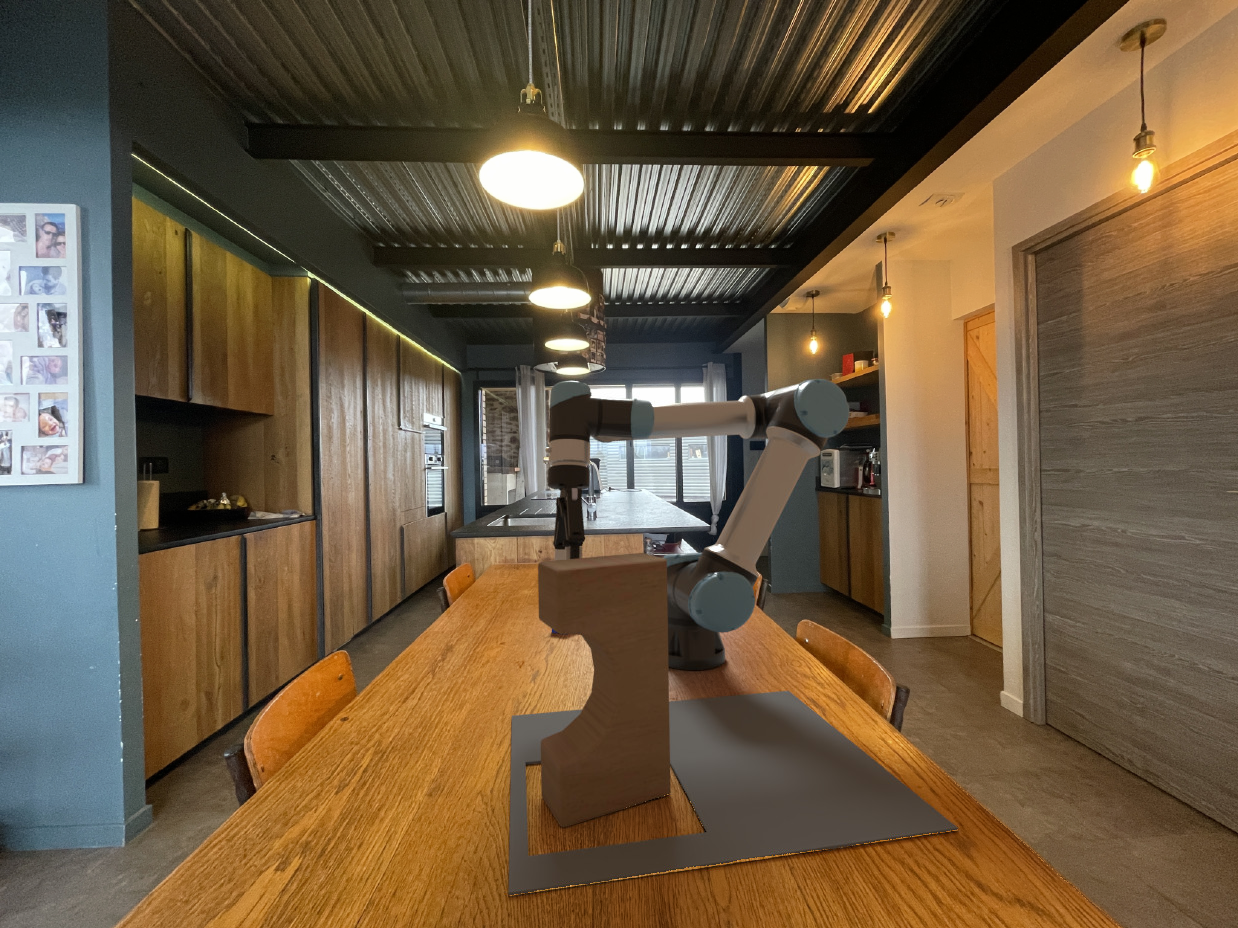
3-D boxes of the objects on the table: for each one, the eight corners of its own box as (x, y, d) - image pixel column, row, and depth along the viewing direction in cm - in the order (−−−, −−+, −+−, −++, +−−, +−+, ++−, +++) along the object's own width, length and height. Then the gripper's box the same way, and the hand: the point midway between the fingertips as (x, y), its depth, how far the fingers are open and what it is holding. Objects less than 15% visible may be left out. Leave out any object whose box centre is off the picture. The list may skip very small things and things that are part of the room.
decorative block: (560, 829, 66) (556, 570, 66) (540, 796, 73) (536, 561, 73) (672, 795, 73) (668, 559, 73) (643, 768, 79) (640, 552, 80)
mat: (788, 692, 105) (788, 690, 105) (958, 831, 65) (957, 827, 65) (511, 717, 96) (511, 715, 96) (508, 896, 56) (508, 892, 56)
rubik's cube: (562, 628, 151) (562, 609, 151) (578, 630, 149) (578, 611, 149) (551, 633, 147) (551, 613, 147) (567, 635, 144) (567, 616, 144)
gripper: (541, 476, 115) (538, 584, 111) (557, 452, 91) (554, 588, 87) (577, 477, 117) (576, 584, 113) (603, 454, 93) (602, 588, 89)
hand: (566, 586), depth 100 cm, fingers open, 13 cm apart
